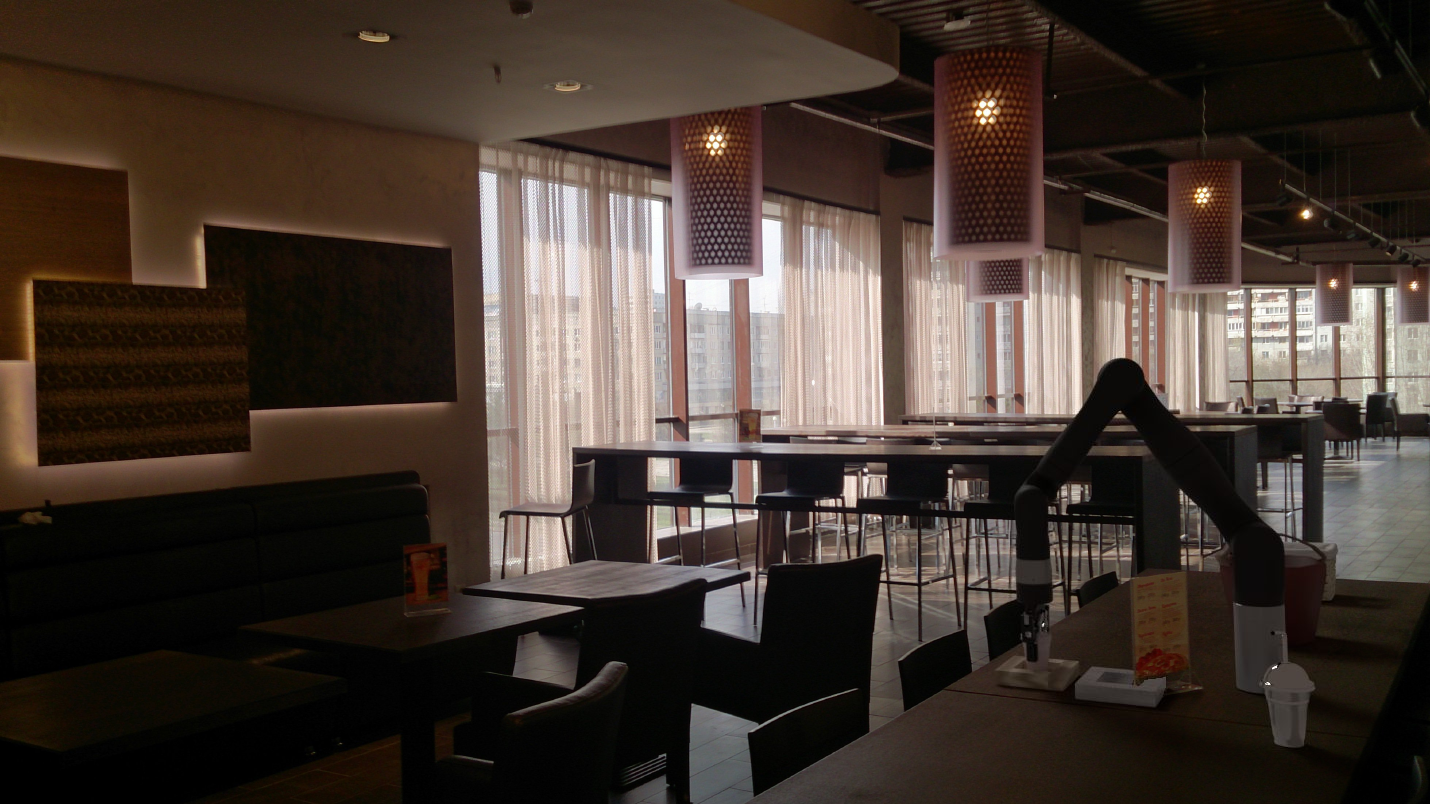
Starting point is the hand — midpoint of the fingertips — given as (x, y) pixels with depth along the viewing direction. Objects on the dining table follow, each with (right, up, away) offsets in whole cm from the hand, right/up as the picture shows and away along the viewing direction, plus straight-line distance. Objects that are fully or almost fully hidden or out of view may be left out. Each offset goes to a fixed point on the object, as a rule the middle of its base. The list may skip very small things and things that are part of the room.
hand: (1036, 657), depth 234 cm
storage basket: (+95, -1, +79) cm, 124 cm away
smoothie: (0, -5, 0) cm, 5 cm away
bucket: (+66, -2, +30) cm, 72 cm away
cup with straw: (+29, -4, -47) cm, 55 cm away
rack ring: (+14, -4, -13) cm, 19 cm away
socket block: (0, -5, 0) cm, 5 cm away
